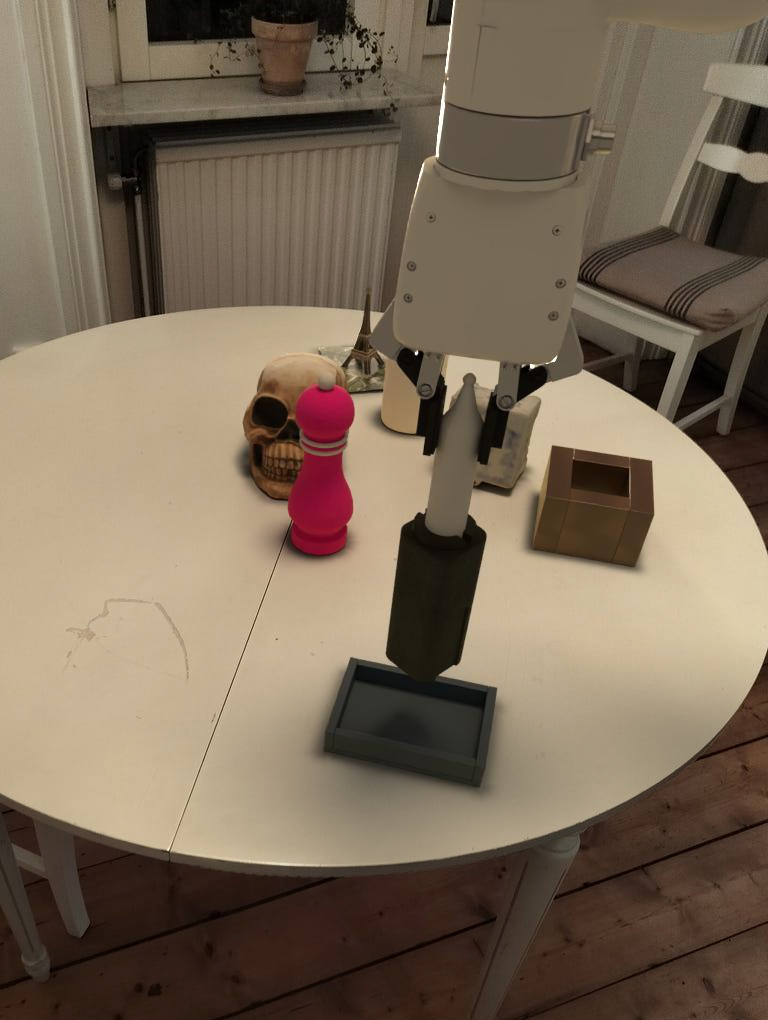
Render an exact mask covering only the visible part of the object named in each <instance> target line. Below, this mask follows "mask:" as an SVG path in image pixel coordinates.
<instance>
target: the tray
mask: <svg viewBox="0 0 768 1020" xmlns="http://www.w3.org/2000/svg"><path fill="white" fill-rule="evenodd" d="M497 695H498V687H497V686H492V685H486V684H482V683H481V684H480V683H476V682H471V681H467V680H463V679H457V678H453V677H447V676H444V675H438V676H437V677H436V679H435V681H432V682H429V683H422V682H418V681H416V680H414V679H413V678H412V677H410V676H409V675H408V674H406V673H405V672H404V671H403V670H401V669H400V668H399V667H397V666H396V665H391V664H387V663H380V662H377V661H372V660H366V659H362V658H357V657H353V656H352V657H351V656H350V658H349V660H348V663H347V666H346V669H345V671H344V675H343V677H342V680H341V684H340V686H339V690H338V693H337V694H336V699H335V701H334V704H333V706H332V710H331V713H330V716H329V719H328V722H327V724H326V728H325V731H324V741H323V742H324V744H323V750H324V751H326V752H330V753H333V754H338V755H342V756H346V757H350V758H351V757H352V758H355V759H358V760H359V759H360V760H364V761H369V762H373V763H377V764H381V765H386V766H389V767H394V768H398V769H402V770H407V771H411V772H415V773H418V774H419V773H420V774H423V775H428V776H433V777H437V778H441V779H446V780H448V781H449V780H450V781H453V782H458V783H463V784H467V785H471V786H475V787H478V788H479V787H481V785H482V782H483V778H484V775H485V772H486V766H487V758H488V754H489V753H488V752H489V747H490V740H491V733H492V727H493V722H494V721H493V719H494V714H495V707H496V701H497Z"/></svg>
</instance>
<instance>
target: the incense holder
mask: <svg viewBox="0 0 768 1020" xmlns="http://www.w3.org/2000/svg"><path fill="white" fill-rule="evenodd" d="M461 388H462V386H460V387H459V389H458V390H456V391H455V393H454V394H452V395H451V397H450V402H449V406H448V410H449V409H450V408H451V407H452V406H453V404H454V402H455V400H456V398H457V396H458V394H459V392H460V390H461ZM494 389H495V388H494ZM494 389H493V388H488V387H485V386H484V387H483V386H481V385H480V384H479V383H478V382H477V381H476V382H475V384H474V390H475V397H476V404H477V409H478V411H479V413H480V414H481V417H482V419H483V421H485V415H486V410H487V406H488V402H489V398H490V394H491V392H494ZM541 405H542V399H541V398H540V397H539V396H537V395H528V396H527V397H525V398H523V399H522V400H520V401H519V402H517V403H516V405H515V407H514V408H513V409H512V410H510V412H509V416H508V421H507V426H506V431H505V436H504V441H503V446H502V449H498V448H492V447H491V451H490V456H489V460H488V464H487V465H481V464H480V462H478V464H477V469H476V474H475V480H474V485H473V487H477V486H479V485H480V484H481V483H482V482H484V483H488V484H490V485H494V486H497V487H500V488H504V489H512V488H514V486H515V484H516V483H517V481H518V478H519V477H520V475H521V474H522V473H523V472H524V471H525V470H526V469H527V463H528V454H529V447H530V443H531V439H532V434H533V429H534V425H535V422H536V419H537V418H538V416H539V412H540V408H541Z"/></svg>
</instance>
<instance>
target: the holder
mask: <svg viewBox="0 0 768 1020" xmlns="http://www.w3.org/2000/svg"><path fill="white" fill-rule="evenodd" d="M653 470H654V469H653V460H651V459H644V458H638V457H633V456H632V457H631V456H627V455H625V456H624V455H618V454H612V453H606V452H601V451H600V452H599V451H592V450H588V449H587V450H585V449H579V448H574V447H566V446H562V445H561V446H560V445H556V444H555V445H553V444H552V445H551V448H550V451H549V455H548V459H547V463H546V467H545V471H544V475H543V479H542V483H541V486H540V489H539V490H540V491H539V494H538V501H537V508H536V516H535V523H534V531H533V539H532V546H531V549H532V550H538V551H543V552H549V553H553V554H554V553H555V554H560V555H566V556H571V557H578V558H583V559H589V560H595V561H600V562H605V563H610V564H611V563H612V564H616V565H623V566H629V567H633V568H635V567H636V566H637V563H638V561H639V557H640V555H641V553H642V550H643V547H644V544H645V541H646V539H647V536H648V534H649V530H650V528H651V525H652V523H653V520H654V518H655V493H654V473H653V472H654V471H653Z"/></svg>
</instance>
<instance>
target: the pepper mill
mask: <svg viewBox="0 0 768 1020" xmlns="http://www.w3.org/2000/svg"><path fill="white" fill-rule="evenodd" d="M335 382H336V380H335V377H334V375H333V374H332V373H330V372H323V373H321V374H320V375H319V377H318V384H316V385H312V386H311V387H309V388H307V389H306V390H305V391H303V393H302V394H301V395H300V396H299V398H298V401H297V404H296V410H295V414H296V420H297V422H298V424H299V426H300V427H301V428H302V429H301V430H300V441H299V442H300V446H301V447H302V449H303V450H304V459H303V465H302V469H301V471H300V473H299V475H298V478H297V479H296V481H295V483H294V485H293V487H292V490H291V492H290V495H289V499H287V500H288V501H287V513H288V515H289V518H290V519H291V521H292V523H291V542H292V544H293V545H294V547H296V548H297V549H298V550H299V551H302V552H303V553H306V554H308V555H314V556H315V555H316V556H325V555H326V556H327V555H331V554H334V553H336V552H339V551H340V550H341V549H342V548H344V546H345V545H346V543H347V539H348V525H347V524H348V523H349V522H350V520H351V519H352V517H353V514H354V499H353V494H352V491H351V488H350V486H349V484H348V482H347V479H346V476H345V474H344V469H343V453H344V451H345V450H346V449H347V448H348V444H349V442H348V440H349V439H348V438H349V434H348V432H347V430H348V429H349V430H350V428H351V427H352V425H353V423H354V421H355V417H356V408H355V402H354V400H353V397H352V396H351V394H350V392H349V393H348V392H347V391H346V390H345V389H343V388H342V387H340V386H338V385H335Z"/></svg>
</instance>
